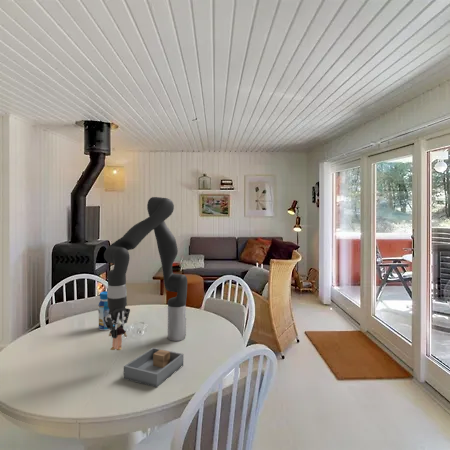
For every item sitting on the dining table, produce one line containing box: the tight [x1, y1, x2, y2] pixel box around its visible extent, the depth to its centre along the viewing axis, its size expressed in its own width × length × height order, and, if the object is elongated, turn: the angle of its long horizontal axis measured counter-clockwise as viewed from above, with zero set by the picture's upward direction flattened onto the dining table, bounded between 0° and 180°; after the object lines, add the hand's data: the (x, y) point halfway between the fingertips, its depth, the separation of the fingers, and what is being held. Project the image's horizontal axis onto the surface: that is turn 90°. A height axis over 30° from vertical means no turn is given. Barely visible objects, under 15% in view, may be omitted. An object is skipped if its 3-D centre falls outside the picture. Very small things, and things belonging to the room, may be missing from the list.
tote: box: [123, 347, 184, 388], centre depth 138 cm, size 20×16×5 cm
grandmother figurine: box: [108, 320, 128, 351], centre depth 139 cm, size 8×4×13 cm, turn 96°
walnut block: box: [153, 349, 170, 368], centre depth 143 cm, size 5×5×5 cm
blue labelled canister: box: [97, 291, 114, 331], centre depth 186 cm, size 8×8×20 cm
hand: (117, 336), depth 139 cm, fingers closed on grandmother figurine, 3 cm apart
